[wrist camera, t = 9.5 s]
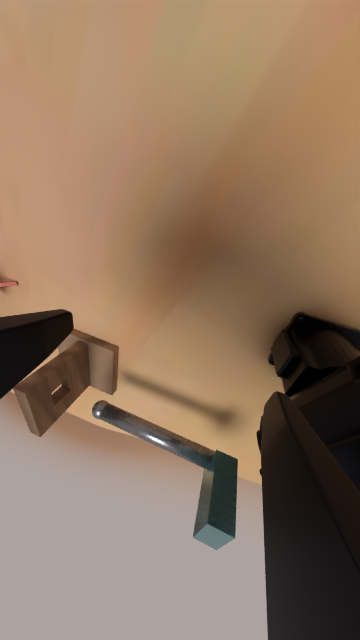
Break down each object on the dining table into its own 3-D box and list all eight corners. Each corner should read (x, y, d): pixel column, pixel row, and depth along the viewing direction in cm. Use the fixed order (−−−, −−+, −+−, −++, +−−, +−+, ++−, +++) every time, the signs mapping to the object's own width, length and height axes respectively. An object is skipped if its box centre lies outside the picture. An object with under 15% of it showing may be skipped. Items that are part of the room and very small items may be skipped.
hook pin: (238, 448, 21) (235, 538, 15) (223, 467, 24) (216, 549, 18) (99, 387, 24) (50, 442, 18) (99, 410, 27) (57, 464, 21)
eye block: (118, 346, 27) (57, 406, 19) (116, 389, 33) (68, 453, 24) (61, 324, 29) (-20, 369, 20) (68, 368, 34) (6, 420, 25)
